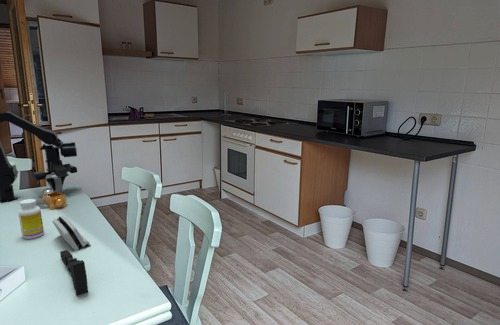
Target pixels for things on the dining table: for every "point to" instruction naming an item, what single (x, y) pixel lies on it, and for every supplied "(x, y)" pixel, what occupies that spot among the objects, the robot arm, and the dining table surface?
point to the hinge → (70, 233)
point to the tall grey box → (57, 184)
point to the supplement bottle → (30, 219)
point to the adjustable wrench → (76, 272)
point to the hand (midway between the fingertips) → (57, 189)
